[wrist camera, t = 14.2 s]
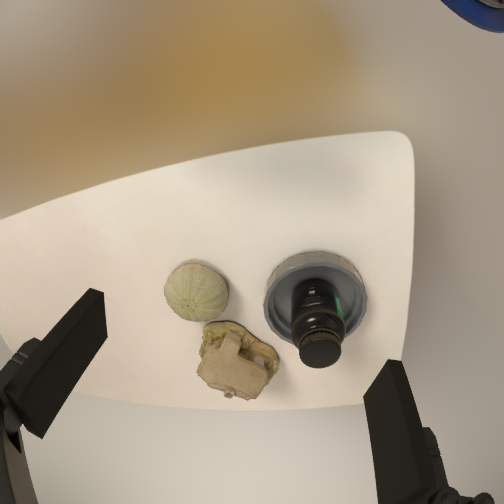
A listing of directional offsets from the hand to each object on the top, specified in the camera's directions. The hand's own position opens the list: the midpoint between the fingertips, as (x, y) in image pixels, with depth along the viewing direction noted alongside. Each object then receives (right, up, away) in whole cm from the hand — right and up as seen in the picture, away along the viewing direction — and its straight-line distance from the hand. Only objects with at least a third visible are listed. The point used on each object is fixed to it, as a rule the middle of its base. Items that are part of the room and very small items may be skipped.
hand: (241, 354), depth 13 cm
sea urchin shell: (-7, -1, +33) cm, 34 cm away
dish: (+10, -2, +32) cm, 33 cm away
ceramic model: (-2, -12, +38) cm, 40 cm away
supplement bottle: (+9, -2, +31) cm, 33 cm away
